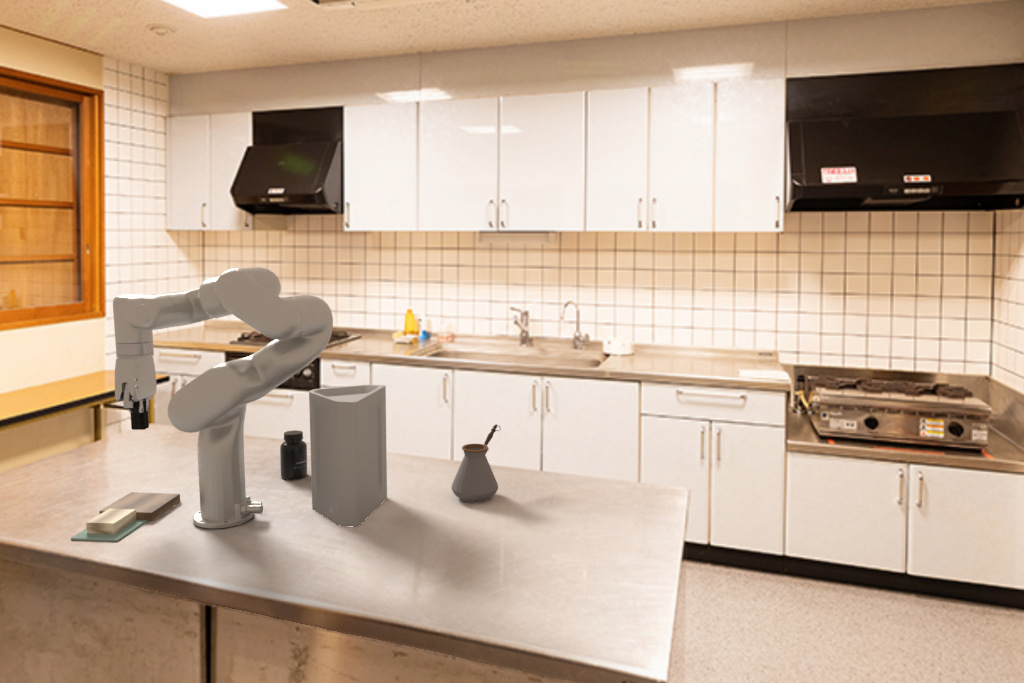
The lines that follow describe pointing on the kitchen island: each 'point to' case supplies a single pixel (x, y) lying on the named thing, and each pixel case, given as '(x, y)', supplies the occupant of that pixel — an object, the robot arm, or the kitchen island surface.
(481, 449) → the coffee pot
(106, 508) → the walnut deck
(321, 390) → the grey triangular vase
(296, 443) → the supplement bottle
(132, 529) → the rubber mat
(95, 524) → the birch tile
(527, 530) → the kitchen island surface
